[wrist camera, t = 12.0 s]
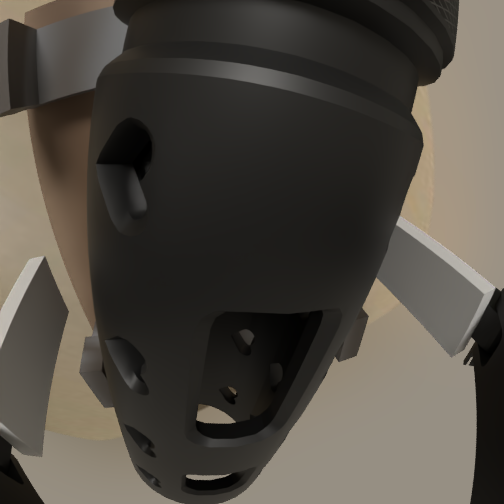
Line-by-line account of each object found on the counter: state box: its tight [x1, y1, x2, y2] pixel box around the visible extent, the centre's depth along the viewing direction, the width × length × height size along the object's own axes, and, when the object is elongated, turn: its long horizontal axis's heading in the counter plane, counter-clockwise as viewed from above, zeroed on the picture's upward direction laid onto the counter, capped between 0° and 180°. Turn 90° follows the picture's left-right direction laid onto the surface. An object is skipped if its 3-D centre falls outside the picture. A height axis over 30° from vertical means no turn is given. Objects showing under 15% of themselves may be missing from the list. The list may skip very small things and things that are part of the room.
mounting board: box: [0, 0, 369, 408], centre depth 15 cm, size 18×26×6 cm
